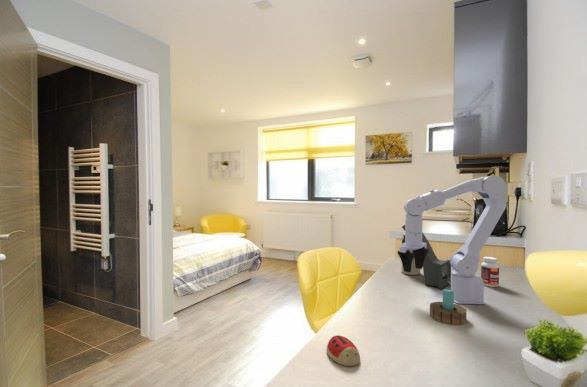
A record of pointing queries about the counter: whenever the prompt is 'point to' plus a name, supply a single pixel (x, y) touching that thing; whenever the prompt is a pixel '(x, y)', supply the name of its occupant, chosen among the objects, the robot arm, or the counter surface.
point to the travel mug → (413, 269)
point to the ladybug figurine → (343, 351)
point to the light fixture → (435, 268)
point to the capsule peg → (448, 300)
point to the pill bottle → (490, 272)
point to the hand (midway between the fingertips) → (413, 270)
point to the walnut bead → (448, 314)
